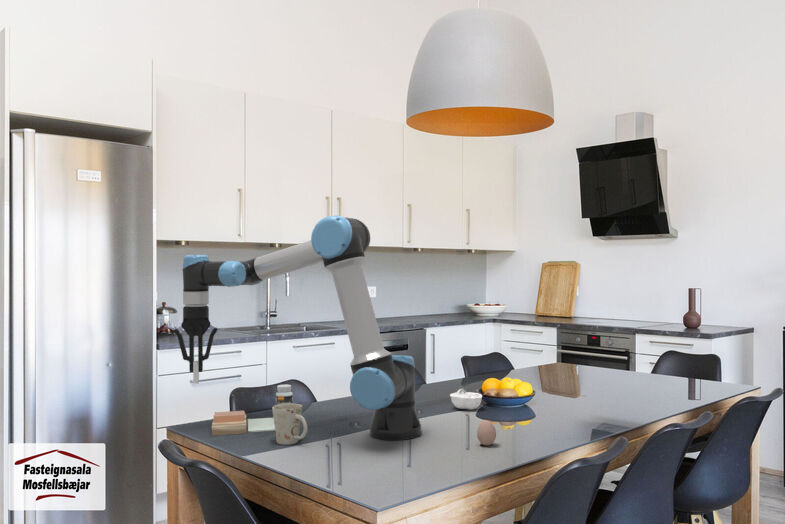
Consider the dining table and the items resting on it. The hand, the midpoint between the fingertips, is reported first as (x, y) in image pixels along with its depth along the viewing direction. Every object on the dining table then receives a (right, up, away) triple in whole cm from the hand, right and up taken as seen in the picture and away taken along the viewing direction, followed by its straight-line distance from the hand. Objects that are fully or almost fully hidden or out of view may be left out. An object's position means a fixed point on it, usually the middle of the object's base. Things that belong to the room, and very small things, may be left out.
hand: (196, 382), depth 202 cm
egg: (+85, -13, -22) cm, 89 cm away
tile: (+10, -12, +2) cm, 15 cm away
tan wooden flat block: (+10, -14, +2) cm, 17 cm away
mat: (+21, -14, +5) cm, 26 cm away
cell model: (+85, -14, +24) cm, 90 cm away
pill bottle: (+24, -14, +19) cm, 34 cm away
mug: (+32, -14, -17) cm, 39 cm away
